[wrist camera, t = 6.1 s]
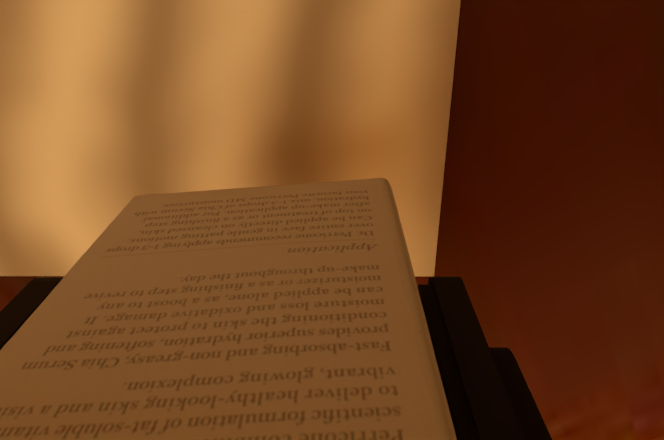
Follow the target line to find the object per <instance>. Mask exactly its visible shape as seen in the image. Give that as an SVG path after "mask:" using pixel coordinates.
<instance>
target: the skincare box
mask: <svg viewBox="0 0 664 440" xmlns="http://www.w3.org/2000/svg"><path fill="white" fill-rule="evenodd" d="M0 440H457V438H456V434H455V430H454V426H453V422H452V418H451V414H450V410H449V407H448V403H447V399H446V395H445V392H444V388H443V384H442V380H441V376H440V373H439V369H438V365H437V361H436V357H435V353H434V349H433V345H432V341H431V337H430V333H429V329H428V325H427V321H426V317H425V313H424V310H423V306H422V303H421V299H420V295H419V291H418V287H417V283H416V279H415V275H414V271H413V267H412V264H411V260H410V256H409V252H408V248H407V245H406V241H405V237H404V233H403V229H402V225H401V222H400V218H399V214H398V210H397V206H396V202H395V198H394V195H393V192H392V188H391V185H390V183H389V182H388V180H387V179H385V178H372V179H360V180H346V181H331V182H318V183H304V184H290V185H275V186H261V187H248V188H235V189H221V190H208V191H193V192H181V193H164V194H147V195H138V196H135V197H133V199H132V200H131V201H130V202H129V203H128V204H127V205H126V206H125V208H124V209H123V210H122V211H121V212H120V213H119V215H118V216H117V217H116V218H115V219H114V220H113V221H112V222H111V223H110V224H109V225H108V227H107V228H106V229H105V230H104V231H103V233H102V234H101V235H100V236H99V237H98V238H97V239H96V241H95V242H94V243H93V244H92V245H91V246H90V248H89V249H88V250H87V251H86V252H85V253H84V254H83V255H82V256H81V258H80V259H79V260H78V261H77V262H76V263H75V265H74V266H73V267H72V268H71V269H70V270H69V272H68V273H67V274H66V275H65V276H64V278H63V279H62V280H61V281H60V282H59V283H58V285H57V286H56V287H55V288H54V289H53V290H52V292H51V293H50V294H49V295H48V296H47V297H46V299H45V300H44V301H43V302H42V303H41V304H40V306H39V307H38V308H37V309H36V310H35V311H34V312H33V313H32V315H31V316H30V317H29V318H28V319H27V320H26V322H25V323H24V324H23V325H22V326H21V327H20V329H19V330H18V331H17V332H16V333H15V334H14V335H13V337H12V338H11V339H10V340H9V341H8V342H7V343H6V344H5V345H4V346H3V348H2V349H1V350H0Z"/></svg>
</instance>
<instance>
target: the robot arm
mask: <svg viewBox="0 0 664 440" xmlns="http://www.w3.org/2000/svg"><path fill="white" fill-rule="evenodd" d="M62 279H63V278H35V279H33V280H32V281H30V282H29V283H28V285H27V286H26V287H25V288H24V289H23V290H22V291H21V292H20V293H19V294H18V295H17V296H16V297H15V298H14V299H13V300H12V301H11V302H10V303H9V304H8V305H7V306H6V307H5V308H4V309H3V310H2V311H1V312H0V350H1V349H2V348H3V346H4V345H5V344H6V343H7V342H8V341H9V340H10V339H11V338H12V337H13V335H14V334H15V333H16V332H17V331H18V330H19V329H20V327H21V326H22V325H23V324H24V323H25V322H26V320H27V319H28V318H29V317H30V316H31V315H32V313H33V312H34V311H35V310H36V309H37V308H38V307H39V306H40V304H41V303H42V302H43V301H44V300H45V299H46V297H47V296H48V295H49V294H50V293H51V292H52V290H53V289H54V288H55V287H56V286H57V285H58V283H59V282H60V281H61V280H62ZM418 291H419V295H420V299H421V303H422V306H423V310H424V313H425V317H426V321H427V325H428V329H429V333H430V337H431V341H432V345H433V349H434V353H435V357H436V361H437V365H438V369H439V373H440V376H441V380H442V384H443V388H444V392H445V395H446V399H447V403H448V407H449V410H450V414H451V418H452V422H453V426H454V430H455V434H456V438H457V440H552V439H551V436H550V434H549V432H548V430H547V428H546V425H545V423H544V421H543V419H542V417H541V414H540V412H539V410H538V408H537V406H536V403H535V401H534V399H533V397H532V394H531V392H530V390H529V388H528V386H527V383H526V381H525V379H524V377H523V375H522V372H521V370H520V368H519V366H518V364H517V361H516V359H515V357H514V355H513V354H512V352H511V350H509V349H508V348H489V347H488V344H487V342H486V339H485V337H484V334H483V332H482V329H481V326H480V324H479V321H478V319H477V316H476V314H475V311H474V309H473V306H472V304H471V301H470V299H469V296H468V294H467V291H466V289H465V286H464V284H463V281H462V279H461V277H430V278H429V281H428V285H419V286H418Z"/></svg>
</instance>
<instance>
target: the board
mask: <svg viewBox="0 0 664 440" xmlns="http://www.w3.org/2000/svg"><path fill="white" fill-rule="evenodd" d="M460 2H461V0H0V276H65V275H66V274H67V273H68V272H69V270H70V269H71V268H72V267H73V266H74V265H75V263H76V262H77V261H78V260H79V259H80V258H81V256H82V255H83V254H84V253H85V252H86V251H87V250H88V249H89V248H90V246H91V245H92V244H93V243H94V242H95V241H96V239H97V238H98V237H99V236H100V235H101V234H102V233H103V231H104V230H105V229H106V228H107V227H108V225H109V224H110V223H111V222H112V221H113V220H114V219H115V218H116V217H117V216H118V215H119V213H120V212H121V211H122V210H123V209H124V208H125V206H126V205H127V204H128V203H129V202H130V201H131V200H132V199H133V197H135V196H138V195H147V194H164V193H181V192H193V191H208V190H221V189H235V188H248V187H261V186H275V185H290V184H304V183H318V182H331V181H346V180H360V179H372V178H385V179H387V180H388V182H389V183H390V185H391V188H392V192H393V195H394V198H395V202H396V206H397V210H398V214H399V218H400V222H401V225H402V229H403V233H404V237H405V241H406V245H407V248H408V252H409V256H410V260H411V264H412V267H413V271H414V275H415V276H434V270H435V260H436V250H437V239H438V229H439V219H440V208H441V198H442V188H443V177H444V167H445V157H446V146H447V136H448V126H449V116H450V105H451V95H452V85H453V74H454V64H455V54H456V43H457V33H458V23H459V12H460Z"/></svg>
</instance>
